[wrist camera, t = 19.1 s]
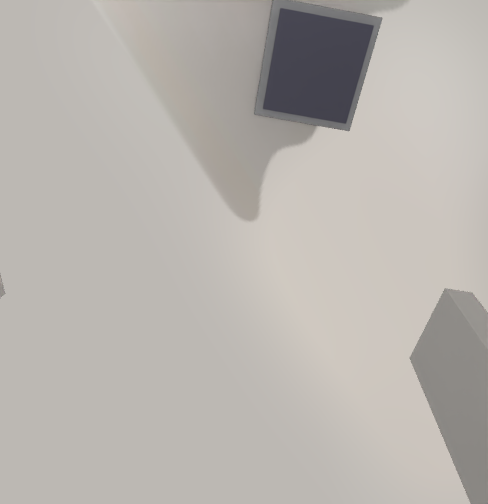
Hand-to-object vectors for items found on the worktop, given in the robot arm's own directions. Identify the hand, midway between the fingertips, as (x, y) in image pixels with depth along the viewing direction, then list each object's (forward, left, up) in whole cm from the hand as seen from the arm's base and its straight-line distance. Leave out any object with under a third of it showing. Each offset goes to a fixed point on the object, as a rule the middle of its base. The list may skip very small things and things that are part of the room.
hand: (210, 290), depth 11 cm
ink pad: (-5, -6, -27) cm, 28 cm away
